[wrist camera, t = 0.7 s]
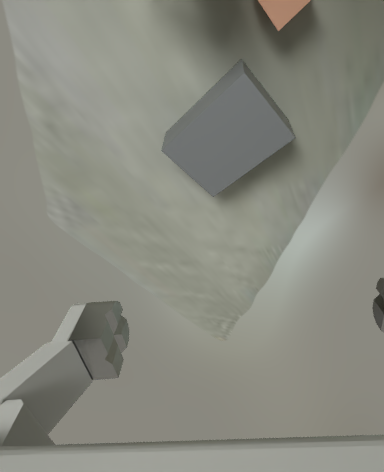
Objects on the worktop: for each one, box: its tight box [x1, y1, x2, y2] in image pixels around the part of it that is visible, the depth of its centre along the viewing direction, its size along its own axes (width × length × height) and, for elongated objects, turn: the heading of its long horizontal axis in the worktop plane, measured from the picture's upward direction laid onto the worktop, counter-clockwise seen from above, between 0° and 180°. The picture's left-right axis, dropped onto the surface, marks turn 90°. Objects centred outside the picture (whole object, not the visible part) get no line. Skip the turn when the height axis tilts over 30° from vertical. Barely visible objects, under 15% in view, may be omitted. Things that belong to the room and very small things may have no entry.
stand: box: [161, 59, 295, 197], centre depth 47 cm, size 16×12×6 cm
